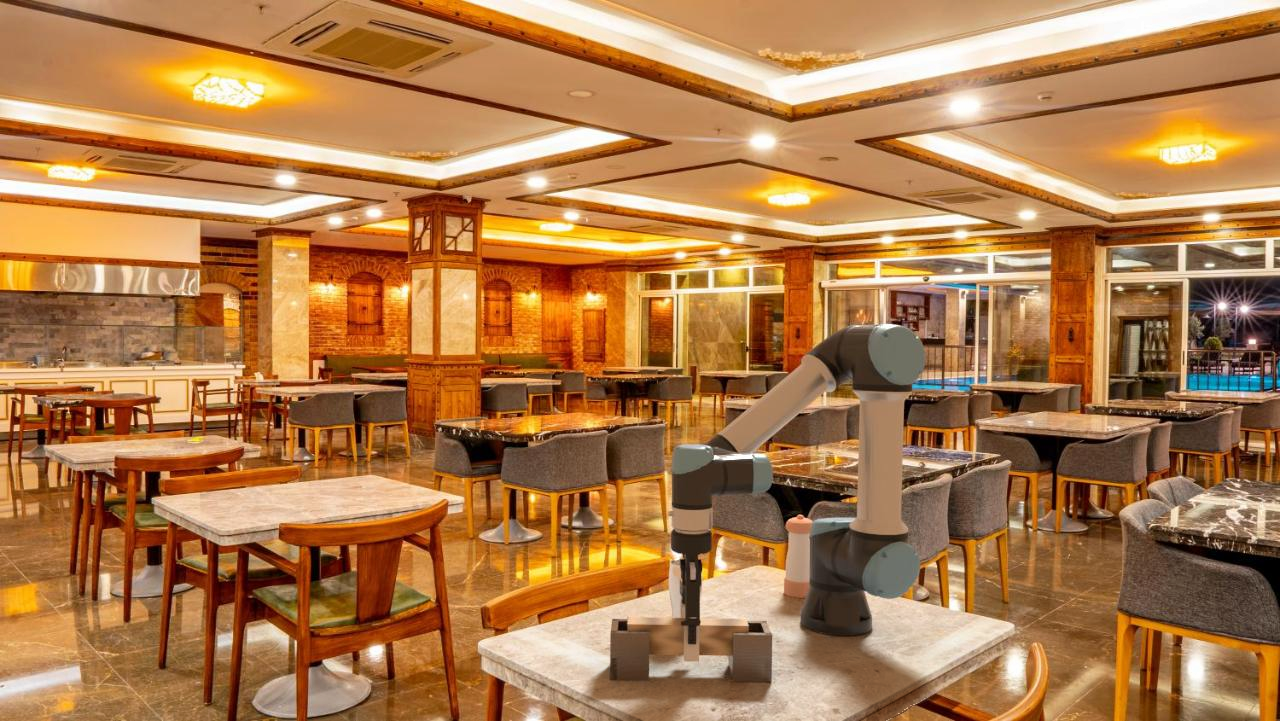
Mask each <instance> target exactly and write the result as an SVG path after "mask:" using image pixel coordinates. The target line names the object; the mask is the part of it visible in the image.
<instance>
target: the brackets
mask: <svg viewBox="0 0 1280 721" xmlns="http://www.w3.org/2000/svg"><path fill="white" fill-rule="evenodd" d="M627 623H628V618H611V627H610V635H609V637H610V644H609V645H610V649H609V650H610V652H609V654H610V655H609V660H610V661H609V680H610V681H650V655H649V635H650V631H627ZM747 623H748V625H749V633H738V632H733V635H732V656H728V668H729V674H730V677H731V681H732V682H733V683H739V682H740V683H772V682H773V681H772V680H773V679H772V677H773V676H772V674H773V670H772V669H773V634H772V631H771V629H770V626H769V624H768V621H767V620H747Z"/></svg>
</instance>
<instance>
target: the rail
mask: <svg viewBox="0 0 1280 721" xmlns="http://www.w3.org/2000/svg"><path fill="white" fill-rule="evenodd" d="M627 619H628V623H627V631H650V635H649V656H651V655H654V656H655V655H656V656H657V655H658V656H659V655H660V656H663V655H664V656H666V655H667V656H684V626H681V621H685V618H672V617H647V616H646V617H642V616H641V617H640V616H637V617H635V616H634V617H632V616H630V617H629V616H628V617H627ZM700 621H701V623H700V631H699V656H713V657H714V656H719V657H720V656H723V657H729V656H732V635H733V632H738V633H749V625H748V623H747V621H748V620H747V618H719V617H718V618H716V617H715V618H711V617H710V618H705V617H704V618H703V617H700Z"/></svg>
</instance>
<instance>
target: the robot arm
mask: <svg viewBox="0 0 1280 721" xmlns="http://www.w3.org/2000/svg"><path fill="white" fill-rule="evenodd" d="M800 362H801V363H800V365H798V367H797V368H794V370H793V371H792V372H790V373H789V374H788V375H787V376H786V377H785V378H783V379H782V380H781V381H780V382H778V383H777V384H776V385H775V386H773V387H772V388H771V389H770V390H769V391H768V392H767V393H765V394H764V395H762V397H760V398H759V399H757V401H755V403H752V405H751V406H749V407H748V408H747V409H745V411H744V412H742V413H741V414H740V415H739V416H738V417H736V418H735V419H734V420H733V421H731V422H730V423H729V424H728V425H726V427H724V428H723V429H722V430H721V431H719V432H718V433H717V434H716V435H715V436H713V437H712V438H711V439H710V440H708V441H707V442H705V443H703V442H702V443H696V444H692V443H691V444H690V443H688V444H679V445H677V446H675V447H674V448H673V450H672V457H671V468H670V473H671V510H669V511H668V513H667V515H668V517H671V526H670V527H671V528H672V530H671V531H670V550H672V552H673V553H676V554H681V555H682V558H683V559H680V569H681V579H682V594H681V596H682V604H685V606H682V618H685V621H681V626H684V655H683V662H700V655H699V631H700V623H701V621H700V618H701V598H700V586H701V573H702V574H703V563H702V559H701V558H700V559H699V555H706V554H708V553H710V552H711V551H712V549H713V532H712V531H711V529H712V528H713V517H714V516H713V515H714V514H713V510H714V509H713V497H714V496H715V497H720V496H733V495H734V496H735V495H736V496H737V495H755V494H762V493H766V492H767V491H768V490H770V488H771V486H772V483H773V480H774V469H773V465H772V462H771V460H770V458H769V457H768V456H767V455H766V454H764V453H754V452H755V451H756V450H758V449H759V448H760V447H761V446H762V445H763V444H765V443H766V442H767V441H768V440H770V439H771V438H772V437H773V436H774V435H775V434H777V433H778V432H779V431H780V430H781V429H782V428H783V427H785V426H786V425H787V424H788V423H790V421H792V420H793V419H794V418H795V417H797V416H798V415H799V414H800V413H801V412H803V411H804V410H805V409H806V408H807V407H808V406H810V405H811V404H812V403H813V402H814V401H816V400H817V399H818V398H819V397H820V396H821V395H823V394H824V393H825V392H827V393H832V392H834V391H835V390H837V388H839V387H840V386H842V385H844V384H847V383H849V382H852V386H851V387H852V392H853V394H854V395H855V396H856V397H857V398H858V399H859V420H858V421H859V427H858V460H857V462H858V464H857V469H858V470H857V498H856V500H857V502H856V504H857V506H856V517H846V516H845V517H826V518H817V519H815V520H812V521H813V522H812V524H811V528H810V536H809V539H810V573H809V577H810V579H809V589H808V592H807V595H806V598H804V601H803V603H802V604H803V605H802V607H801V610H800V624H801V625H802V626H803V627H804V628H806V629H808V630H810V631H813V632H817V633H820V634H823V635H832V636H858V635H863V634H866V633H869V632H870V631H871V630H873V616H872V611H871V609H870V606H869V602H868V600H867V596H866V593H867V594H869V595H871V596H872V597H873V596H874V597H879V598H881V599H887V600H892V599H897V598H900V597H901V596H904V595H905V594H906V593H908V592H909V590H910V589H911V588H912V587H913V586H914V585H915V584H916V581H918V580H917V579H918V577H919V574H920V571H921V559H920V556H919V553H918V552H917V551H916V549H915V547H914V546H912V545H911V544H910V543H909V534H910V533H909V530H910V529H909V528H908V526H907V525H906V524H905V523H904V521H903V520H902V496H903V495H902V494H903V493H902V492H903V462H904V461H903V453H904V452H903V449H904V422H905V421H904V420H905V419H904V417H905V416H904V414H905V411H904V410H905V402H906V399H908V398H909V396H911V395H912V394H913V383H914V382H916V381H917V380H918V379H919V378H920V377H921V376H920V375H921V374H922V373H923V371H924V370H925V366H926V351H925V347H924V344H923V342H922V341H921V339H920V338H919V336H917V335H916V333H915V331H914V330H911V329H910V328H909V327H906V326H904V325H898V324H890V323H885V324H853V325H849V326H845V327H843V328H841V329H838V330H837V331H835V332H833V333H831V334H830V335H829V336H828V337H826V338H824V339H823V340H822V341H821V342H819V343H818V344H817V345H816V346H814V347H813V348H812V349H810V350H809V351H808V352H807V353H806V354H805V355H803V356H802V358H801V361H800ZM865 592H866V593H865Z"/></svg>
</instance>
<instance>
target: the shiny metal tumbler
mask: <svg viewBox="0 0 1280 721" xmlns="http://www.w3.org/2000/svg"><path fill="white" fill-rule="evenodd" d="M680 559H683V557H681V558H680V557H679V558H674V559H671V560H670V561H669V569H668V570H669V571H668V593H669V600H670V605H671V615H672V616H671V618H682V606H685V604H682V596H681V594H682V579H681V569H680ZM702 590H703V572H702V573H701V586H700V599H701V597H702V592H703V591H702Z"/></svg>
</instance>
